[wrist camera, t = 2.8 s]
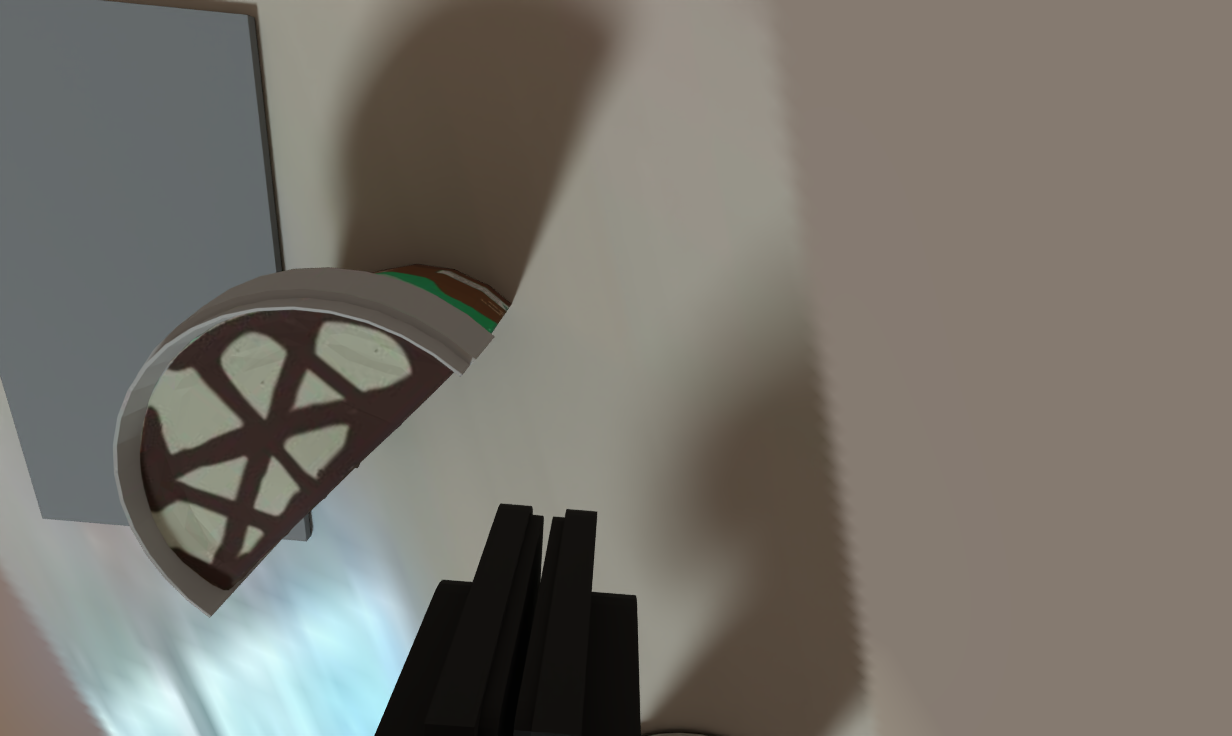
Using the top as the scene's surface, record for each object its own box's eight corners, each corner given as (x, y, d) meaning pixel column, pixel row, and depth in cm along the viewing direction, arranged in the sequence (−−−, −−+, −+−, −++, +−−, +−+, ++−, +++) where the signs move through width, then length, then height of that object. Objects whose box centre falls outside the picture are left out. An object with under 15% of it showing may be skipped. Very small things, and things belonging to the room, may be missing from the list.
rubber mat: (254, 17, 20) (247, 14, 20) (310, 536, 28) (306, 541, 28) (-104, -18, 20) (-118, -22, 20) (50, 513, 28) (42, 518, 27)
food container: (421, 163, 22) (268, 166, 13) (537, 279, 23) (476, 361, 14) (238, 369, 25) (5, 496, 16) (351, 461, 26) (199, 627, 17)
